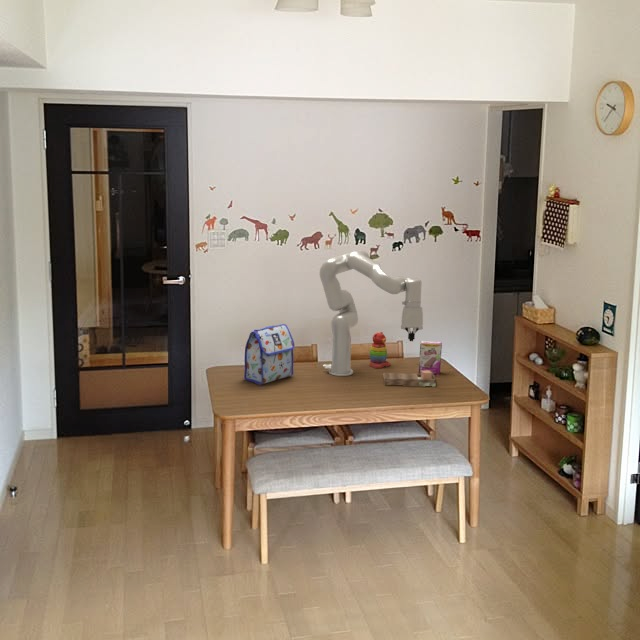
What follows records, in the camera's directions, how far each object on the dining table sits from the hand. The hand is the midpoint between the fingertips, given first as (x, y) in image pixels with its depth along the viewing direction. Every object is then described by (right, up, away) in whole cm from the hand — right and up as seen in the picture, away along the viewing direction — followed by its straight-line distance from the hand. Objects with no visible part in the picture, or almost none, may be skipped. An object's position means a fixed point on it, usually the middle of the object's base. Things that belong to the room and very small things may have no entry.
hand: (411, 340), depth 418 cm
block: (+8, -19, +5) cm, 22 cm away
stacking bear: (-14, -14, +36) cm, 41 cm away
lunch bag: (-70, -19, +9) cm, 74 cm away
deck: (0, -21, +8) cm, 22 cm away
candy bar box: (+12, -18, +24) cm, 32 cm away
